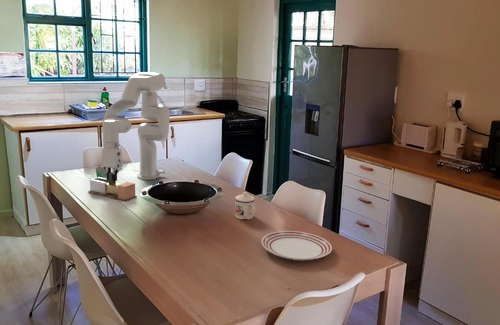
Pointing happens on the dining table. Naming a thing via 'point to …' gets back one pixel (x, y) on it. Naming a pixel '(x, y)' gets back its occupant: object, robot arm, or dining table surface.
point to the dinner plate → (296, 245)
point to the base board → (112, 196)
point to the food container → (101, 172)
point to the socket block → (126, 190)
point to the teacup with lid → (244, 206)
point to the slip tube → (111, 185)
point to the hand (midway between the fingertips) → (112, 180)
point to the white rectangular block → (98, 185)
